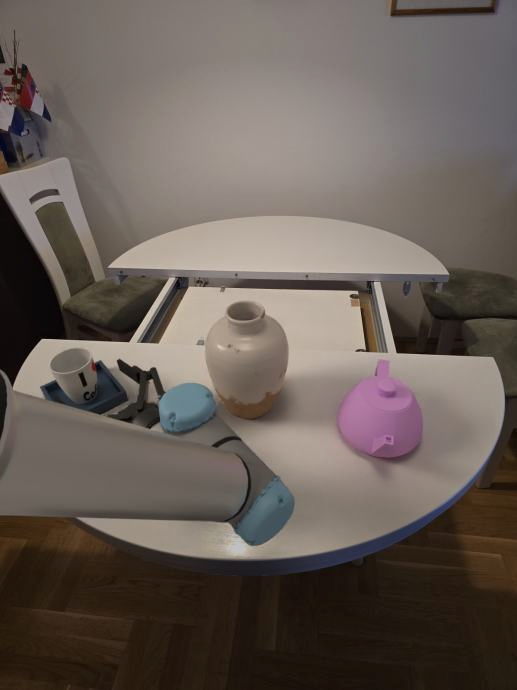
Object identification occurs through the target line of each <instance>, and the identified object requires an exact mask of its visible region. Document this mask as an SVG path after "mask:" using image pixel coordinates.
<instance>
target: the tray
mask: <svg viewBox="0 0 517 690" xmlns="http://www.w3.org/2000/svg"><path fill="white" fill-rule="evenodd" d="M94 364H95V367H96V372H97V380H98V393H97V396H96V398H95V399H94V400H92V401H91V402H89V403H86V404H77V403H75V402H74V401H73V400H72V399H70V398H69V397H68V396H67V395H66V393H65V392H64V391H63V390H62V388H61V387H60V386H59V384H58V383H57V381H56V379H54V380H52V381H50V382H47V383H45V384H43V385H40V386H39V388H40V391H41V393H42V395H43V397H44V399H46V400H49V401H53V402H54V400H53V398H54V397H55V396H57V397H58V398H59V399H60V400H61V401H63V402H64V403H65V404H66V405H67V406H70V407H74V408H77V409H81V410H85V411H88V412H92V413H95V414H99V415H102V414H105V413H106V412H109V411H110V410H112V409H114V408H116V407H118V406H120V405H122V404H124V403H126V402H128V401H130V400H129V396H128V393H127V390H126V388H124V387H123V385H122V384H121V382H120V381H118V379H117V378H116V376H114V374H113V372H111V371H110V369H109V368H108V367H107V366H106V365H105V363H104V362H103V360H102V359H100V360H98V361H94Z"/></svg>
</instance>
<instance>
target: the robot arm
mask: <svg viewBox="0 0 517 690" xmlns="http://www.w3.org/2000/svg"><path fill="white" fill-rule="evenodd" d="M116 364H117V367H118V370H119V371H120V372H121V373H122V374H123V375H124V376H127V377H128V378H129V379H130V380H132V381H134V382H135V383H136V384H138V385H139V386H138V394H137V398H136V401H135V402H130V403H129V404H128V405H127V406H126V407H124V408H122V409H120V410H119V411H117V413H108V414H107V415H106V416H105V415H102V414H100V415H99V414H95V413H92V412H88V411H85V410H81V409H77V408H74V407H70V406H67V405H66V404H65V403H64V402H63V401H61V400H60V399H59V398H58V397H57V396H55V397H54V398H53V400H54V402H53V401H49V400H46V398H41V397H39V396H35V395H33V394H29V393H24V392H21V391H17V390H14V388H13V385H12V384H11V381H10V378H9V377H8V375H7V374H6V372H5V371H3V370H2V369H0V516H12V517H13V516H17V517H19V516H20V517H21V516H22V517H45V518H46V517H48V518H52V517H53V518H76V519H77V518H79V519H80V518H81V519H83V518H85V519H109V520H111V519H115V520H142V521H143V520H144V521H145V520H146V521H171V522H173V521H174V522H175V521H177V522H205V523H207V522H209V523H222V524H224V523H225V524H226V523H227V524H229V525H230V526H231V527H232V529H233V532H234V533H235V534H236V535H238V536H239V537H240V539H242V540H243V542H244V543H245V544H247V545H248V546H251V547H258V546H261V545H263V544H266V543H267V542H269V541H270V540H272V539H273V538H274V537H276V536H277V535H278V534H279V533H280V532H281V531H282V530H283V528H284V527H285V526H286V525H287V524H288V522H289V520H290V519H291V518H292V515H293V513H294V510H295V506H296V503H295V502H296V499H295V497H294V494H293V493H292V491H290V489H289V488H288V486H287V485H286V484H285V483H284V481H283V480H282V479H281V476H279V475H277V474H276V473H275V472H274V471H273V470H272V469H271V468H270V467H269V466H268V465H267V464H266V463H265V462H264V460H262V459H261V458H260V457H259V456H258V455H257V454H256V453H255V452H254V451H253V449H251V448H250V447H249V446H248V445H247V443H246V442H245V441H244V440H243V439H242V438H241V437H240V436H239V434H237V433H236V432H235V431H234V430H233V429H232V428H231V427H230V426H229V424H228V423H227V422H226V421H224V419H223V418H222V417H221V416H220V415H219V413H218V410H217V409H218V405H217V402H216V400H215V396H214V393H213V392H212V390H211V389H209V388H208V387H207V386H206V385H204V384H201V383H197V382H183V383H180V384H178V385H176V386H173V387H172V388H170V389H168V390H167V391H165V389H164V387H163V384H162V381H161V378H160V376H159V373H158V370H157V367H155V366H152V367H150V368H149V370H143V369H142V368H140V367H139V366H137V365H132V366H131V365H130V364H129V363H127V362H125V361H124V360H123V359H121V358H118V359H116ZM150 381H152V383H153V385H154V388H155V389H154V390H155V391H156V395H157V398H156V404H155V402H154V403H153V402H151V403H150V402H149V388H150V384H151V383H150Z"/></svg>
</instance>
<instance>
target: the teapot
mask: <svg viewBox="0 0 517 690" xmlns="http://www.w3.org/2000/svg"><path fill="white" fill-rule="evenodd" d="M421 409H422V408H421V407H420V404H419V402H418V399H417V398H416V396H415V394H414V393H413V392H412V390H411V389H410V388H409V386H408V385H406V383H404V382H403V381H401V380H399V379H397V378H395V377H392V376H390V360H387V359H380V358H379V359H378V360H377V363H376V366H375V370H374V375H373V376H372V375H371V376H369V377H367V378H365V379H362V380H361V381H360V382H358V383H357V384H355V385H354V386H352V388H351V389H349V390H348V391H347V393H346V394H345V395H344V397H343V398H342V400H341V402H340V404H339V407H338V410H337V416H336V423H337V426H338V429H339V431H340V433H341V435H342V437H343V438H344V440H346V441H347V443H349V444H350V445H351V446H352V447H354V448H355V449H357V450H358V451H360V452H362V453H364V454H367V455H370V456H373V457H378V458H387V459H388V458H389V459H391V458H395V457H397V458H398V457H401V456H403V455H406V454H408V453H410V452H411V451H413V450H414V449H415V448H416V447H417V445H419V443H420V441H421V438H422V435H423V429H424V420H423V414H422V413H423V412H422V410H421Z"/></svg>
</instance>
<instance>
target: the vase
mask: <svg viewBox="0 0 517 690" xmlns="http://www.w3.org/2000/svg"><path fill="white" fill-rule="evenodd" d="M289 348H290V347H289V342H288V337H287V335H286V332H285V330H284V327H283V326H282V325H281V323H280V322H278V320H276V319H275V318H274V317H272V316H270V315H268V314H266V310H265V308H264V306H263V304H261V303H260V302H256V301H253V300H238V301H235V302H232V303H231V304H229V305H228V306H227V307H225V311H224V316H223V317H221V318H219V319H218V320H217V321H215V322H214V323H213V325H212V326H211V327H210V329H209V331H208V332H207V335H206V338H205V344H204V358H205V364H206V368H207V369H206V370H207V372H208V376H209V378H210V380H211V383H212V386H213V388H214V390H215V392H216V395H217V396H218V398H219V399H220V401H221V402H222V404H223V405H224V407H225V408H226V409H227V410H228V411H229V412H230V413H231V414H232V415H234V416H235V417H237V418H240V419H245V420H250V419H251V420H253V419H258V418H260V417H262V416H264V415H266V414H267V413H268V412H269V411H270V410H271V409H272V407H273V406H274V404H275V403H276V400H277V398H278V397H279V395H280V393H281V390H282V388H283V386H284V382H285V379H286V375H287V370H288V365H289V358H290V357H289V356H290V349H289Z"/></svg>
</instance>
